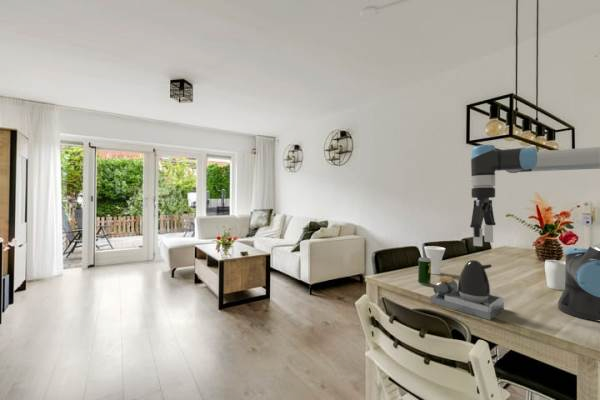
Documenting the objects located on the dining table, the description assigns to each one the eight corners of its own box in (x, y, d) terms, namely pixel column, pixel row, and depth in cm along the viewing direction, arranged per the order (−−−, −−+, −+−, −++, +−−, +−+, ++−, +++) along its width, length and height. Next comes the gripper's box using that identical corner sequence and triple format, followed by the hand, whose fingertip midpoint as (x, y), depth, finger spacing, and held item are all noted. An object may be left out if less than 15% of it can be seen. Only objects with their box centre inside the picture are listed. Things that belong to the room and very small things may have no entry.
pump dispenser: (489, 309, 99) (490, 265, 99) (455, 301, 105) (456, 260, 105) (491, 300, 107) (492, 259, 107) (460, 294, 113) (461, 256, 113)
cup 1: (449, 275, 150) (450, 249, 150) (430, 276, 148) (431, 249, 148) (437, 270, 160) (437, 245, 160) (419, 270, 159) (420, 246, 159)
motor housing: (503, 309, 105) (504, 284, 105) (490, 320, 96) (490, 293, 96) (447, 294, 121) (447, 272, 121) (430, 302, 111) (430, 279, 111)
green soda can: (417, 284, 134) (417, 258, 134) (418, 281, 138) (419, 256, 138) (430, 286, 131) (430, 260, 131) (431, 283, 136) (431, 257, 136)
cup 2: (542, 283, 137) (542, 258, 137) (567, 287, 132) (568, 261, 132) (546, 289, 129) (547, 262, 129) (573, 292, 125) (574, 265, 124)
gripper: (481, 188, 119) (482, 239, 119) (460, 186, 102) (460, 246, 102) (503, 187, 114) (503, 241, 114) (484, 186, 97) (485, 249, 97)
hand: (483, 244), depth 108 cm, fingers open, 13 cm apart
